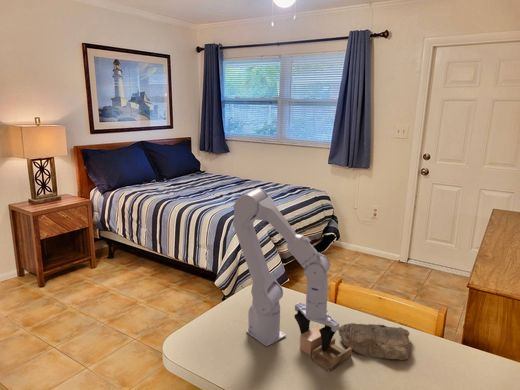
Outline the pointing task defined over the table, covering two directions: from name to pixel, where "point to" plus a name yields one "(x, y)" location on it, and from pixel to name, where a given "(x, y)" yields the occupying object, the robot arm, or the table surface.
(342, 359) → the rack
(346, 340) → the rough brown rock
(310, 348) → the clay bar
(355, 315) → the table surface
